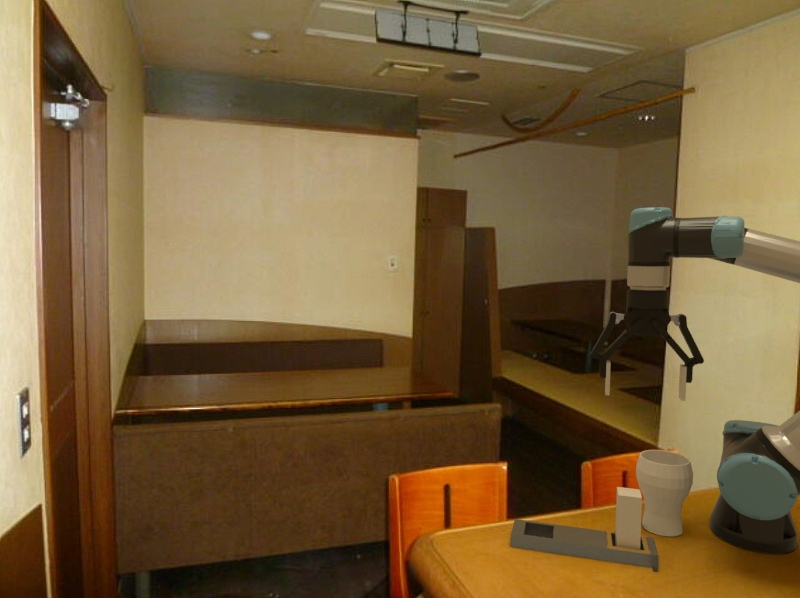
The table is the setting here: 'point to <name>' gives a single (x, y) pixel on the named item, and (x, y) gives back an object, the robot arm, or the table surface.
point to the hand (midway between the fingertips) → (643, 396)
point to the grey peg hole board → (582, 543)
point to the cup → (663, 489)
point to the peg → (628, 518)
